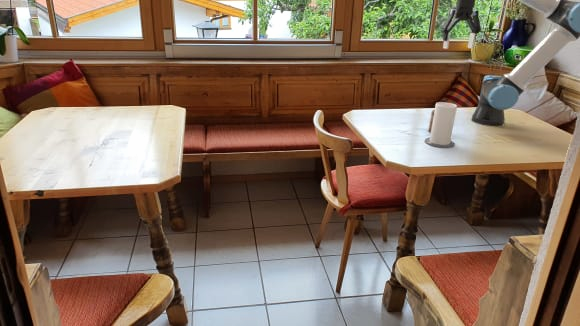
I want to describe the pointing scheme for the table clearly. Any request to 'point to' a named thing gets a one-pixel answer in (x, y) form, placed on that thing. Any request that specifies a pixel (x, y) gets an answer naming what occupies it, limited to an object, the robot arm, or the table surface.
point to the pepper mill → (431, 121)
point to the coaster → (438, 144)
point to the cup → (443, 123)
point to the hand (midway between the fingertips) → (458, 48)
